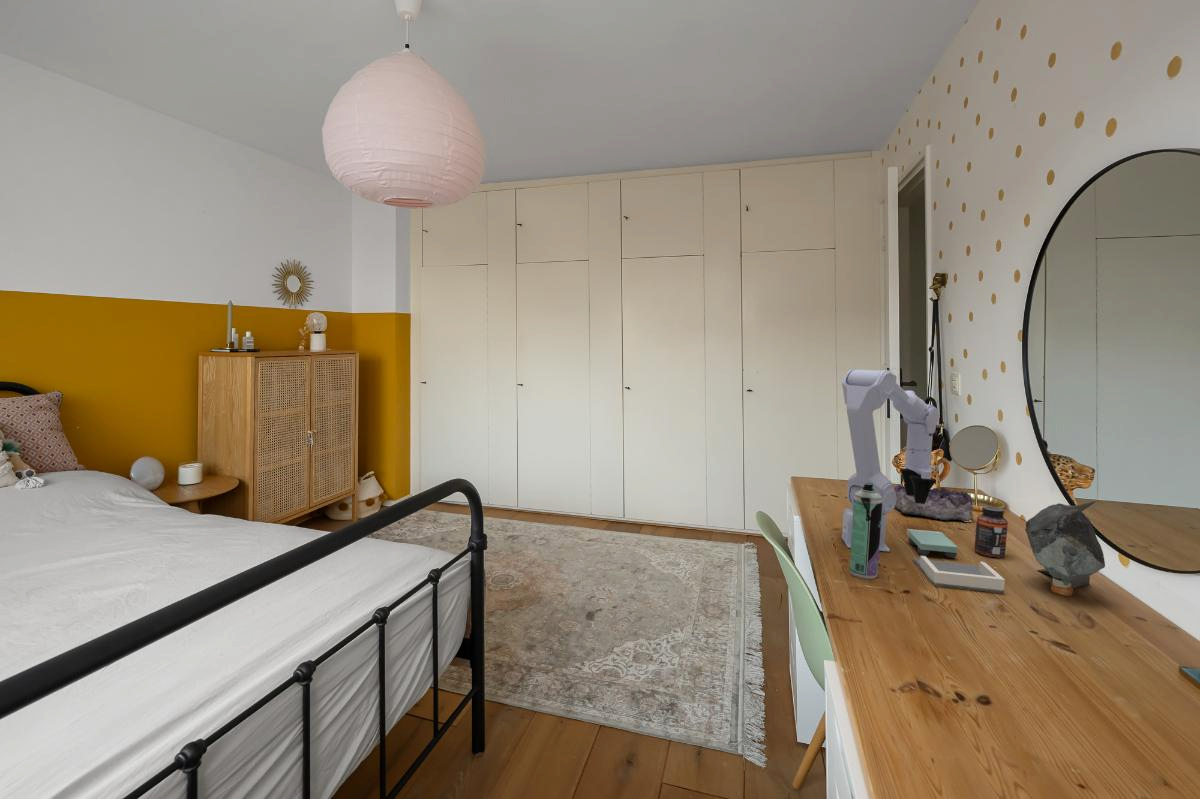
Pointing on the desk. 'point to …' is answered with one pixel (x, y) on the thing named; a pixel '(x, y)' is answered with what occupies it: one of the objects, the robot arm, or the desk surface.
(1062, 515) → the faceted stone sculpture
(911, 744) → the desk surface
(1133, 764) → the desk surface
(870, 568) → the spray can
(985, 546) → the supplement bottle
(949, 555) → the mint green block
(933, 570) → the tray
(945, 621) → the desk surface
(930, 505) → the geode
